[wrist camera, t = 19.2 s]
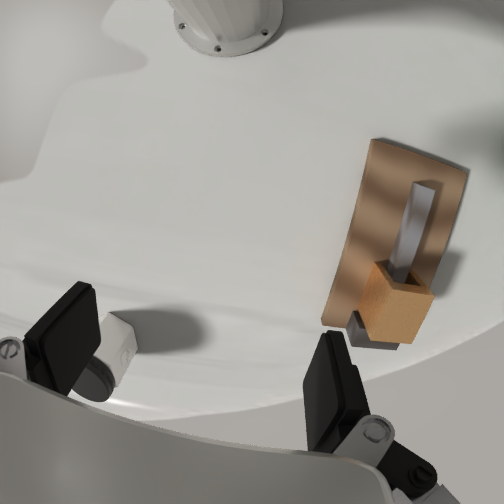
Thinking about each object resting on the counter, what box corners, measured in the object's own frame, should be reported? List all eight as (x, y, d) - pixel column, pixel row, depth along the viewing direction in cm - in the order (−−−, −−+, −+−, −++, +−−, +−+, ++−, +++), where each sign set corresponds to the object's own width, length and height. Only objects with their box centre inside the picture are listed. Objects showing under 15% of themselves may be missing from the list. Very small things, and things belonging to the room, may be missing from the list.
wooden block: (374, 261, 37) (392, 289, 30) (412, 269, 37) (434, 296, 30) (357, 308, 39) (370, 340, 33) (394, 313, 39) (411, 343, 33)
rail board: (370, 139, 32) (387, 141, 27) (461, 171, 32) (484, 179, 27) (321, 319, 42) (326, 343, 37) (404, 329, 42) (416, 351, 37)
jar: (141, 357, 47) (116, 409, 36) (101, 350, 48) (72, 397, 37) (132, 314, 44) (99, 366, 33) (89, 308, 44) (51, 354, 33)
